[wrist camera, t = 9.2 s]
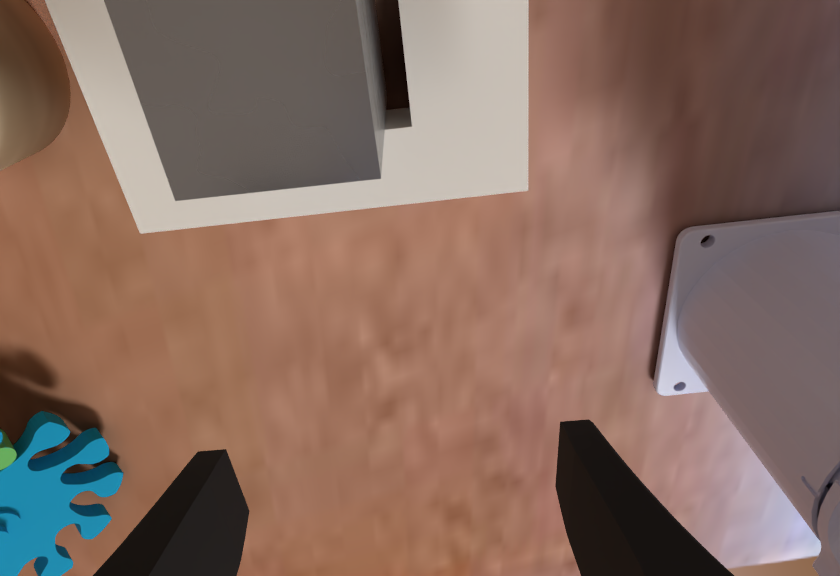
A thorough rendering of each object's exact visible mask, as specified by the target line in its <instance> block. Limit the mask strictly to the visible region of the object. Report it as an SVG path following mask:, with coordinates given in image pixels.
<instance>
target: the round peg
mask: <svg viewBox="0 0 840 576" xmlns="http://www.w3.org/2000/svg"><path fill="white" fill-rule="evenodd" d="M69 107H70V83H69V77H68V73H67V68H66V65H65V62H64V60H63V57H62V54H61V52H60V50H59V48H58V46H57V43H56V41H55V39H54V38H53V36H52V35H51V33H50V31H49V30H48V28H47V26H46V25H45V24H44V22H43V21H42V20H41V18H40V17H39V16H38V14H37V13H36V12H35V11H34V10H33V9H32V8H31V7H30V5H29V4H28V3H27V2H26V1H25V0H0V171H1V170H3V169H5V168H7V167H9V166H11V165H13V164H15V163H17V162H19V161H21V160H23V159H25V158H27V157H29V156H31V155H33V154H35V153H37V152H38V151H40V150H42V149H44V148H45V147H47V146H48V145H49V144H50V143H52V142H53V141H54V139H55V138H56V137H57V136H58V135H59V133H60V132H61V130H62V128H63V127H64V125H65V122H66V119H67V117H68V112H69Z"/></svg>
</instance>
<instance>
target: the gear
mask: <svg viewBox="0 0 840 576" xmlns="http://www.w3.org/2000/svg"><path fill="white" fill-rule="evenodd" d="M69 434H70V430H69V429H68V427H67V426H66V424H65V423H64V421H63V420H62V419H61V418H60V417H58V416H57V415H54V414H52V413H48V412H45V411H41V412H39V413H37V414H35V415H34V416H33V417H32V418H31V419H30V420H29V421H28V423H27V426H26V429H25V431H24V432H23V434H22V436H21V437H20V438H19V440H18V441H17V442H16V443H15V444H14V445H12V444H11V442H10V440H9V438H8V436H7V434H6V433H5V431H3V430H2V429H0V576H17V575H18V574H19V572H20V571H21V569H22V568H23V566H24V565H25V564H26V563H27V562H29V561H30V560H32V559H34V558H36V557H38V558H37V559H36V561H35V563H34V568H35V571H36V573H37V575H38V576H61V575H62V574H64V573H65V572H67V571H68V570H69V569H71V568H72V566H73V561H72V559H71V557H70V556H69V554H68V552H67V550H66V548H64V547H62V546H58V545H56V544H55V537H56V534H57V533H58V532H59V531H60V530H61V529H62V528H63V527H65V526H67V525H69V524H74V523H75V526H76V527H77V529H78V531H79V532H80V534H81V536H82V537H83V538H84V539H93V538H94V537H96V536H97V535H98V534H99V533H100V532H101V531H102V530H103V529H104V528H105V527H106V526H107V524H108V523H109V522H110V521H111V519H112V518H111V516H110V515H109V513H108V512H107V510H106V509H105V507H104V506H103V505H102V504H92V505H76V504H73V503H71V500H72V499H73V498H74V497H75V496H76V495H77V494H79V493H81V492H83V491H93V492H94V493H95V494H97V495H98V496H100V497H108V496H111V495H113V494H115V493H116V492H117V490H118V489H119V487H120V485H121V482H122V478H123V472H122V471H121V469H120V468H119V466H118V465H117V464H116V463H114V462H106V463H104V464H101V465H99V466H98V467H96V468H93V469H91V470H88V471H84V472H80V473H63V472H64V471H65V470H66V469H67V468H69V467H70V466H72V465H75V464H95V463H98V462H100V461H102V460H104V459H105V458H106V457H107V456H108V455H109V447H108V445H107V443H106V441H105V440H104V438H103V437H102V435H101V434H100V433H99V431H98V430H97V428H91V429H88V430H86V431H84V432H82V433H81V434H80V435H79V436H78V437H77V438H76V439H74V440H73V441H72V442H71V443H69V444H68V445H67V446H65V447H63V448H62V449H60V450H58V451H56V452H54V453H51V454H48V455H46V456H43V457H39V458H36V459H31V460H30V458H31V457H32V456H33V455H34V454H36V453H37V452H39V451H42V450H45V449H48V448H51V447H54V446H57V445H59V444H60V443H62V442H63V441H64V440H65V439H66V438H67V437H68V436H69Z"/></svg>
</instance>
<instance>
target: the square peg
mask: <svg viewBox="0 0 840 576" xmlns="http://www.w3.org/2000/svg"><path fill="white" fill-rule="evenodd" d="M104 2H105V5H106V8H107V11H108V14H109V16H110V19H111V22H112V25H113V28H114V30H115V33H116V36H117V39H118V42H119V44H120V47H121V50H122V53H123V56H124V59H125V61H126V64H127V67H128V70H129V73H130V75H131V78H132V81H133V84H134V87H135V89H136V92H137V95H138V98H139V101H140V103H141V106H142V109H143V112H144V115H145V118H146V120H147V123H148V126H149V129H150V132H151V134H152V137H153V140H154V143H155V146H156V148H157V151H158V154H159V157H160V160H161V163H162V165H163V168H164V171H165V174H166V177H167V179H168V182H169V185H170V188H171V191H172V193H173V196H174V199H175V201H181V200H191V199H200V198H209V197H218V196H227V195H237V194H246V193H255V192H264V191H273V190H282V189H292V188H301V187H310V186H319V185H328V184H338V183H347V182H356V181H365V180H374V179H381V173H382V159H383V146H384V132H385V118H386V105H387V90H386V82H385V74H384V66H383V58H382V50H381V42H380V34H379V26H378V18H377V10H376V2H375V0H104Z"/></svg>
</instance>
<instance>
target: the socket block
mask: <svg viewBox="0 0 840 576" xmlns="http://www.w3.org/2000/svg"><path fill="white" fill-rule="evenodd" d="M45 2H46V5H47V7H48V10H49V12H50V14H51V17H52V19H53V22H54V24H55V27H56V29H57V31H58V34H59V36H60V39H61V41H62V44H63V46H64V49H65V51H66V53H67V56H68V58H69V61H70V63H71V66H72V68H73V71H74V73H75V75H76V78H77V80H78V83H79V85H80V88H81V90H82V93H83V95H84V97H85V100H86V102H87V105H88V107H89V110H90V112H91V115H92V117H93V119H94V122H95V124H96V127H97V129H98V132H99V134H100V137H101V139H102V141H103V144H104V146H105V149H106V151H107V154H108V156H109V159H110V161H111V163H112V166H113V168H114V171H115V173H116V176H117V178H118V180H119V183H120V185H121V188H122V190H123V193H124V195H125V198H126V200H127V202H128V205H129V207H130V210H131V212H132V215H133V217H134V220H135V222H136V224H137V227H138V229H139V232H140V234H141V233H150V232H159V231H168V230H177V229H186V228H195V227H205V226H214V225H223V224H232V223H241V222H250V221H259V220H268V219H277V218H286V217H295V216H304V215H313V214H322V213H331V212H340V211H349V210H358V209H367V208H376V207H385V206H394V205H403V204H412V203H421V202H430V201H439V200H448V199H457V198H466V197H475V196H484V195H493V194H502V193H511V192H520V191H528V0H398V2H399V11H400V21H401V30H402V39H403V48H404V57H405V67H406V76H407V85H408V94H409V103H410V107H408V108H399V109H391V110H386V118H385V132H384V146H383V159H382V173H381V179H374V180H365V181H356V182H347V183H338V184H328V185H319V186H310V187H301V188H292V189H282V190H273V191H264V192H255V193H246V194H237V195H227V196H218V197H209V198H200V199H191V200H181V201H175V199H174V196H173V193H172V191H171V188H170V185H169V182H168V179H167V177H166V174H165V171H164V168H163V165H162V163H161V160H160V157H159V154H158V151H157V148H156V146H155V143H154V140H153V137H152V134H151V132H150V129H149V126H148V123H147V120H146V118H145V115H144V112H143V109H142V106H141V103H140V101H139V98H138V95H137V92H136V89H135V87H134V84H133V81H132V78H131V75H130V73H129V70H128V67H127V64H126V61H125V59H124V56H123V53H122V50H121V47H120V44H119V42H118V39H117V36H116V33H115V30H114V28H113V25H112V22H111V19H110V16H109V14H108V11H107V8H106V5H105V2H104V0H45Z"/></svg>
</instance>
